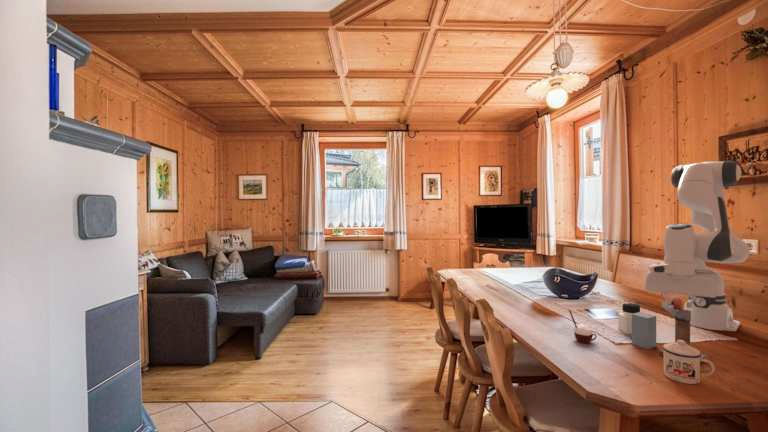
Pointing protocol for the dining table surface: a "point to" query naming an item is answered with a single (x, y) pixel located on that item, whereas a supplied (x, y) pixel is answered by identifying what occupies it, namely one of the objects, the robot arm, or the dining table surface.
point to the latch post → (682, 335)
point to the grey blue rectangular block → (644, 330)
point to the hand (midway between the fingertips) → (678, 306)
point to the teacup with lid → (683, 363)
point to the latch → (677, 309)
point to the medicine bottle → (627, 317)
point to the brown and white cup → (582, 332)
